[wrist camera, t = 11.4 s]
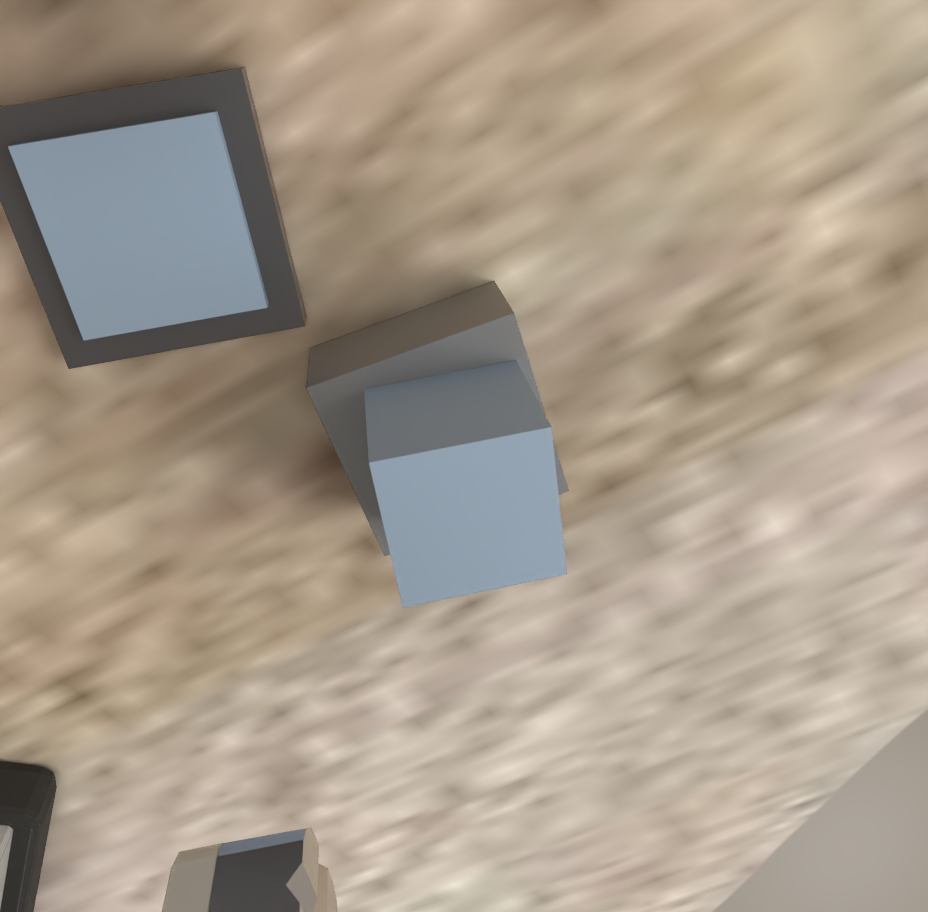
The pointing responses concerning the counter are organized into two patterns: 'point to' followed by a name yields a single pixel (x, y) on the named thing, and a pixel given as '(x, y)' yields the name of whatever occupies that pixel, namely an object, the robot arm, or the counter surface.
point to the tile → (148, 217)
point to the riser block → (408, 371)
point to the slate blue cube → (465, 482)
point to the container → (23, 832)
